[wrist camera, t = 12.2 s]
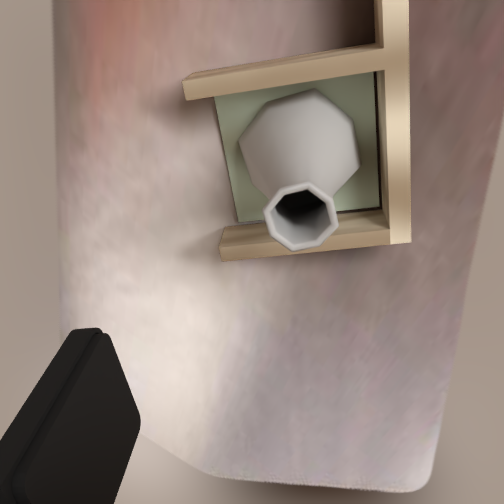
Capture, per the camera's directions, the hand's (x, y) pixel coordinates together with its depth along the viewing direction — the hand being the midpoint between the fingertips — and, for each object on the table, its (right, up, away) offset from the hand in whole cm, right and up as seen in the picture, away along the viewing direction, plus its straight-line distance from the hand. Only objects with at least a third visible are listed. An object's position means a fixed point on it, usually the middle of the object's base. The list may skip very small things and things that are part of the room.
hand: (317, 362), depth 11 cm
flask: (+2, +9, +19) cm, 21 cm away
